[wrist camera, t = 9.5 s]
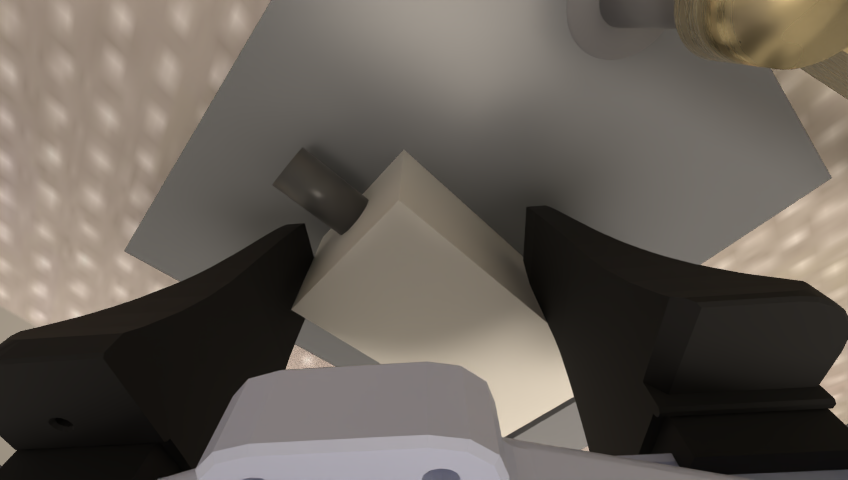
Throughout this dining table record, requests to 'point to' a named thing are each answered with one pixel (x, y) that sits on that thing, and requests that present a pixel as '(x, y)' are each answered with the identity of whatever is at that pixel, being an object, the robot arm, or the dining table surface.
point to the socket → (487, 133)
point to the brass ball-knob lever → (770, 35)
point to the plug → (425, 284)
